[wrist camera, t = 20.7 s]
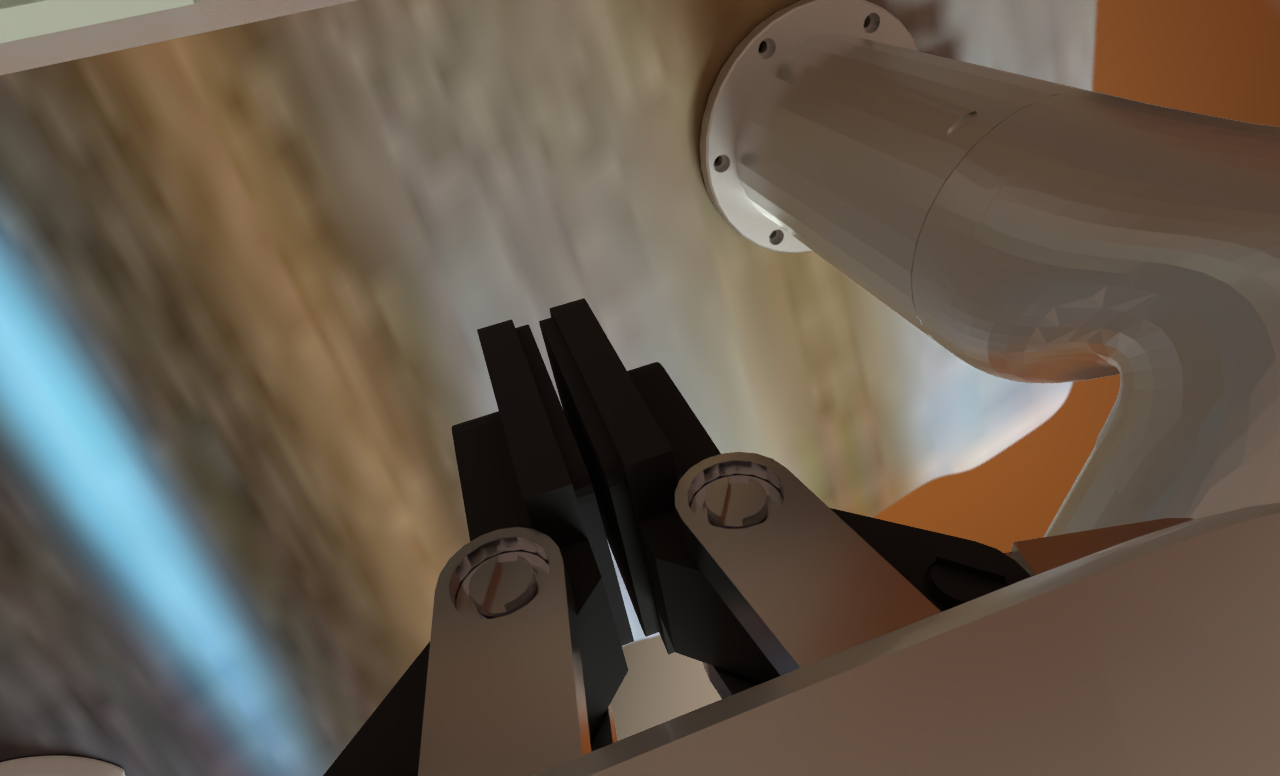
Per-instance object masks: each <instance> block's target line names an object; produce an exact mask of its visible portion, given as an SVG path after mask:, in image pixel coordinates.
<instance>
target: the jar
mask: <svg viewBox="0 0 1280 776" xmlns="http://www.w3.org/2000/svg"><path fill="white" fill-rule="evenodd" d="M0 776H125V773H124V769H123V768H120V767H118V766H116V765H113V764H110V763H107V762H104V761H100V760H96V759H91V758H85V757H77V756H62V755H49V756H34V757H25V758H18V759H13V760H8V761H3V762H0Z"/></svg>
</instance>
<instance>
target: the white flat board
mask: <svg viewBox="0 0 1280 776" xmlns="http://www.w3.org/2000/svg"><path fill="white" fill-rule="evenodd" d="M351 1H356V0H202V1H199V2H197V3H195V4H191V5H186V6H181V7H176V8H172V9H167V10H162V11H157V12H152V13H147V14H142V15H137V16H132V17H127V18H122V19H118V20H113V21H108V22H103V23H98V24H93V25H88V26H83V27H78V28H73V29H68V30H64V31H59V32H54V33H49V34H44V35H39V36H34V37H29V38H24V39H19V40H14V41H10V42H5V43H0V75H4V74H9V73H13V72H18V71H23V70H28V69H32V68H37V67H42V66H47V65H51V64H56V63H61V62H66V61H70V60H75V59H80V58H85V57H90V56H94V55H99V54H104V53H109V52H113V51H118V50H123V49H128V48H132V47H137V46H142V45H147V44H151V43H156V42H161V41H166V40H170V39H175V38H180V37H185V36H189V35H194V34H199V33H204V32H208V31H213V30H218V29H223V28H227V27H232V26H237V25H242V24H246V23H251V22H256V21H261V20H265V19H270V18H275V17H280V16H284V15H289V14H294V13H299V12H303V11H308V10H313V9H318V8H322V7H327V6H332V5H337V4H341V3H346V2H351Z"/></svg>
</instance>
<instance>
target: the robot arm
mask: <svg viewBox="0 0 1280 776" xmlns="http://www.w3.org/2000/svg"><path fill="white" fill-rule="evenodd" d="M864 21H865V23H864ZM761 42H762V43H763V48H762V49H761V51H758V50H759V45H760V43H761ZM718 156H719V160H718V162H717V163H715V164H714V161H715V159H716V158H717V157H718ZM700 159H701V170H702V174H703V178H704V182H705V186H706V190H707V192H708V194H709V196H710V198H711V200H712V202H713V205H714V207H715V209H716V210H717V211H718V213H719V214H720V215H721V216H722V218H723V219H724V220H725V221H726V223H727V224H728V225H729V226H730V227H732V228H733V229H734V230H735V231H736V232H737V233H738V234H740V235H741V236H742V237H744V238H745V239H747V240H749V241H750V242H752V243H753V244H755V245H757V246H759V247H762V248H765V249H767V250H770V251H775V252H785V253H801V252H811V251H814V252H815V253H817V254H818V255H819V256H821V257H822V258H823V259H825V260H826V261H828V262H829V263H830V264H832V265H833V266H834V267H836V268H837V269H838V270H840V271H841V272H842V273H844V274H845V275H847V276H848V277H849V278H851V279H852V280H853V281H855V282H856V283H857V284H859V285H860V286H862V287H863V288H864V289H866V290H867V291H868V292H870V293H871V294H872V295H874V296H875V297H876V298H878V299H879V300H881V301H882V302H883V303H885V304H886V305H887V306H889V307H890V308H891V309H893V310H894V311H895V312H897V313H898V314H900V315H901V316H902V317H904V318H905V319H906V320H908V321H909V322H910V323H912V324H913V325H915V326H916V327H917V328H919V329H920V330H921V331H923V332H924V333H925V334H927V335H928V336H929V337H931V338H932V339H934V340H935V341H936V342H938V343H939V344H940V345H942V346H943V347H944V348H946V349H947V350H949V351H950V352H951V353H953V354H954V355H955V356H957V357H958V358H960V359H961V360H963V361H964V362H966V363H968V364H970V365H971V366H973V367H975V368H977V369H979V370H981V371H984V372H986V373H988V374H991V375H993V376H996V377H1000V378H1004V379H1009V380H1013V381H1017V382H1026V383H1062V382H1072V381H1081V380H1088V379H1094V378H1099V377H1106V376H1111V375H1117V374H1120V375H1121V386H1120V390H1119V393H1118V397H1117V400H1116V402H1115V404H1114V406H1113V408H1112V410H1111V412H1110V415H1109V416H1108V418H1107V421H1106V423H1105V425H1104V426H1103V428H1102V430H1101V432H1100V434H1099V435H1098V438H1097V442H1096V446H1095V447H1094V449H1093V451H1092V453H1091V454H1090V456H1089V458H1088V460H1087V461H1086V463H1085V465H1084V467H1083V468H1082V470H1081V472H1080V474H1079V475H1078V477H1077V479H1076V481H1075V483H1074V484H1073V486H1072V488H1071V490H1070V491H1069V493H1068V495H1067V497H1066V498H1065V500H1064V502H1063V504H1062V505H1061V507H1060V509H1059V511H1058V512H1057V514H1056V516H1055V518H1054V519H1053V521H1052V523H1051V525H1050V527H1049V528H1048V530H1047V532H1046V534H1045V535H1044V537H1043V538H1037V539H1031V540H1024V541H1018V542H1014V543H1013V547H1012V552H1007V553H1002V552H1001V551H999V550H997V549H995V548H992V547H990V546H987V545H984V544H981V543H978V542H975V541H971V540H967V539H962V538H958V537H954V536H949V535H945V534H941V533H936V532H931V531H928V530H923V529H919V528H914V527H910V526H905V525H901V524H897V523H893V522H888V521H884V520H880V519H875V518H871V517H867V516H862V515H858V514H854V513H849V512H845V511H840V510H836V509H832V508H829V507H828V506H827V505H826V504H825V503H823V502H822V501H821V500H820V499H819V498H818V497H817V496H816V495H815V494H814V493H813V492H812V491H811V490H809V489H808V488H807V487H806V486H805V485H804V484H803V483H802V482H801V481H800V480H799V479H798V478H797V477H795V476H794V475H793V474H792V473H791V472H790V471H789V470H788V469H787V468H786V467H784V466H783V465H781V464H780V463H778V462H777V461H775V460H774V459H771V458H768V457H765V456H762V455H759V454H755V453H745V452H733V453H724V454H721V453H720V452H719V450H718V449H717V447H716V446H715V444H714V443H713V441H712V440H711V438H710V437H709V435H708V434H707V432H706V431H705V429H704V428H703V426H702V425H701V423H700V422H699V420H698V419H697V417H696V416H695V414H694V413H693V411H692V410H691V408H690V407H689V405H688V404H687V402H686V401H685V399H684V398H683V396H682V395H681V393H680V392H679V390H678V389H677V387H676V386H675V384H674V383H673V381H672V380H671V378H670V377H669V375H668V374H667V372H666V371H665V369H664V368H663V366H662V365H661V364H660V363H658V362H655V363H652V364H649V365H645V366H642V367H639V368H636V369H633V370H629V371H626V369H625V367H624V365H623V364H622V362H621V360H620V359H619V357H618V355H617V353H616V352H615V350H614V348H613V346H612V345H611V343H610V341H609V340H608V338H607V336H606V334H605V333H604V331H603V329H602V327H601V326H600V324H599V322H598V321H597V319H596V317H595V315H594V314H593V312H592V310H591V308H590V307H589V305H588V303H587V302H586V300H585V299H580V300H577V301H573V302H570V303H566V304H563V305H560V306H556V307H553V308H550V313H551V318H549V319H545V320H542V321H539V323H540V328H541V331H542V335H543V339H544V342H545V346H546V349H547V353H548V357H549V360H550V364H551V368H552V371H553V375H554V378H555V382H556V386H557V389H558V393H559V397H560V400H561V404H562V406H561V404H560V401H559V399H558V396H557V394H556V391H555V389H554V386H553V384H552V381H551V379H550V376H549V374H548V371H547V369H546V366H545V364H544V362H543V359H542V357H541V354H540V352H539V349H538V347H537V344H536V342H535V339H534V337H533V334H532V332H531V329H530V327H529V325H525V326H521V327H518V328H515V326H514V324H513V321H512V320H508V321H505V322H502V323H498V324H495V325H491V326H488V327H484V328H481V329H478V330H477V331H478V335H479V339H480V342H481V346H482V350H483V354H484V357H485V361H486V365H487V368H488V372H489V376H490V379H491V383H492V387H493V391H494V394H495V398H496V402H497V405H498V409H499V411H498V412H495V413H492V414H489V415H486V416H482V417H479V418H476V419H473V420H470V421H466V422H463V423H460V424H457V425H454V426H452V434H453V440H454V446H455V452H456V458H457V464H458V470H459V476H460V482H461V488H462V494H463V500H464V506H465V512H466V518H467V524H468V530H469V536H470V542H469V543H468V544H466V545H464V546H463V547H462V548H461V549H460V550H459V551H458V552H457V553H455V554H454V555H453V556H452V557H451V558H450V559H449V561H448V562H447V564H446V565H445V567H444V568H443V570H442V571H441V573H440V575H439V578H438V582H437V585H436V589H435V596H434V607H433V617H432V628H431V639H430V642H429V643H428V645H427V646H426V647H425V648H424V650H423V651H422V652H421V653H420V655H419V656H418V657H417V658H416V660H415V661H414V662H413V663H412V665H411V666H410V667H409V668H408V670H407V671H406V672H405V673H404V675H403V676H402V677H401V679H400V680H399V681H398V682H397V684H396V685H395V686H394V687H393V689H392V690H391V691H390V692H389V694H388V695H387V696H386V697H385V699H384V700H383V701H382V702H381V704H380V705H379V706H378V707H377V709H376V710H375V711H374V712H373V714H372V715H371V716H370V718H369V719H368V720H367V721H366V723H365V724H364V725H363V726H362V728H361V729H360V730H359V731H358V733H357V734H356V735H355V736H354V738H353V739H352V740H351V741H350V743H349V744H348V745H347V746H346V748H345V749H344V750H343V751H342V753H341V754H340V755H339V757H338V758H337V759H336V760H335V762H334V763H333V764H332V765H331V767H330V768H329V769H328V770H327V772H326V773H325V774H324V775H323V776H1280V127H1277V126H1268V125H1259V124H1252V123H1247V122H1241V121H1236V120H1230V119H1225V118H1219V117H1214V116H1208V115H1203V114H1198V113H1192V112H1187V111H1181V110H1177V109H1170V108H1165V107H1161V106H1155V105H1151V104H1146V103H1142V102H1137V101H1132V100H1128V99H1124V98H1120V97H1116V96H1111V95H1107V94H1103V93H1098V92H1092V91H1088V90H1083V89H1079V88H1075V87H1070V86H1066V85H1062V84H1058V83H1053V82H1049V81H1045V80H1040V79H1036V78H1032V77H1028V76H1023V75H1019V74H1015V73H1010V72H1006V71H1002V70H997V69H993V68H989V67H985V66H980V65H976V64H972V63H967V62H963V61H959V60H954V59H950V58H946V57H942V56H937V55H933V54H929V53H924V52H920V51H919V49H918V47H917V45H916V43H915V41H914V38H913V37H912V35H911V34H910V33H909V31H908V30H907V29H906V28H905V26H904V25H903V24H902V23H901V21H900V20H899V19H897V18H896V17H895V16H893V15H892V14H891V13H890V12H888V11H887V10H886V9H884V8H883V7H881V6H878V5H876V4H873V3H871V2H868V1H866V0H802V1H798V2H796V3H794V4H792V5H790V6H788V7H786V8H783V9H781V10H779V11H777V12H775V13H774V14H773V15H771V16H770V17H769V18H767V19H766V20H765V21H763V22H762V23H760V24H759V25H758V26H756V27H755V28H754V29H753V30H752V31H751V32H750V33H749V34H748V35H747V36H746V38H745V39H744V40H743V41H742V42H741V43H740V44H739V45H738V46H737V47H736V48H735V50H734V51H733V53H732V54H731V56H730V57H729V59H728V60H727V62H726V63H725V65H724V66H723V68H722V69H721V71H720V73H719V75H718V77H717V79H716V82H715V84H714V86H713V88H712V90H711V92H710V95H709V98H708V102H707V105H706V109H705V112H704V116H703V119H702V128H701V137H700ZM562 407H563V409H562ZM606 537H607V538H606ZM607 540H608V542H607ZM608 543H609V545H610V548H611V550H612V553H613V555H614V558H615V561H616V563H617V566H618V568H619V571H620V573H621V576H622V578H623V581H624V584H625V586H626V589H627V591H628V594H629V596H630V599H631V602H632V604H633V607H634V609H635V612H636V614H637V617H638V620H639V622H640V625H641V627H642V630H643V632H644V634H645V636H649V635H652V634H654V633H657V632H659V633H660V635H661V638H662V640H663V642H664V645H665V647H666V650H667V652H668V654H671V653H673V652H676V653H679V654H682V655H685V656H687V657H690V658H693V659H696V660H699V661H702V662H703V664H704V668H705V670H706V672H707V675H708V677H709V679H710V681H711V683H712V684H713V686H714V687H715V689H716V690H717V692H718V693H719V695H720V696H721V698H722V700H720V701H717V702H714V703H712V704H709V705H707V706H704V707H702V708H699V709H697V710H694V711H692V712H689V713H687V714H685V715H682V716H679V717H677V718H675V719H672V720H670V721H667V722H665V723H662V724H660V725H657V726H655V727H652V728H650V729H647V730H645V731H642V732H640V733H637V734H635V735H632V736H630V737H627V738H625V739H622V740H620V741H618V740H617V733H616V726H615V719H614V715H613V712H612V709H611V706H610V703H611V701H612V699H613V697H614V695H615V694H616V692H617V690H618V688H619V686H620V685H621V683H622V681H623V679H624V677H625V675H626V674H627V671H628V668H627V664H626V661H625V657H624V654H623V650H622V646H623V645H625V644H628V643H630V642H633V641H634V640H633V636H632V632H631V628H630V624H629V621H628V617H627V613H626V609H625V606H624V602H623V598H622V594H621V591H620V587H619V583H618V579H617V576H616V572H615V568H614V564H613V560H612V557H611V553H610V549H609V545H608Z"/></svg>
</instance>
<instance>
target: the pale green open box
mask: <svg viewBox="0 0 1280 776" xmlns="http://www.w3.org/2000/svg"><path fill="white" fill-rule="evenodd" d="M199 1H202V0H0V43H5V42H10V41H14V40H19V39H24V38H29V37H34V36H39V35H44V34H49V33H54V32H59V31H64V30H68V29H73V28H78V27H83V26H88V25H93V24H98V23H103V22H108V21H113V20H118V19H122V18H127V17H132V16H137V15H142V14H147V13H152V12H157V11H162V10H167V9H172V8H176V7H181V6H186V5H191V4H195V3H197V2H199Z"/></svg>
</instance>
